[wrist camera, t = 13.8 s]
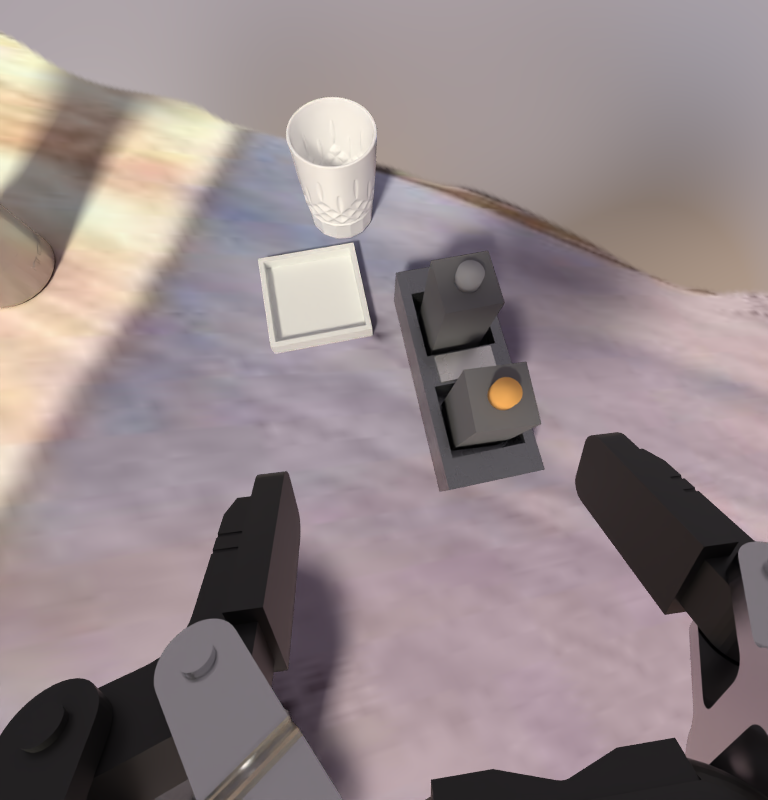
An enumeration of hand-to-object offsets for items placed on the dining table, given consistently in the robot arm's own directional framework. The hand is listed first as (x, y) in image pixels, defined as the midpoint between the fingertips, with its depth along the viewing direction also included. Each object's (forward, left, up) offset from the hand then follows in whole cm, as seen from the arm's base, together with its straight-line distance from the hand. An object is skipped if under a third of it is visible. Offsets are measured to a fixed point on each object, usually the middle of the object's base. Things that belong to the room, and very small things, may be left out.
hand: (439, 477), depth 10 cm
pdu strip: (+8, +9, -26) cm, 29 cm away
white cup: (+1, +31, -26) cm, 41 cm away
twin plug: (+8, +14, -25) cm, 30 cm away
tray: (-4, +21, -26) cm, 34 cm away
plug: (+8, +5, -25) cm, 27 cm away
